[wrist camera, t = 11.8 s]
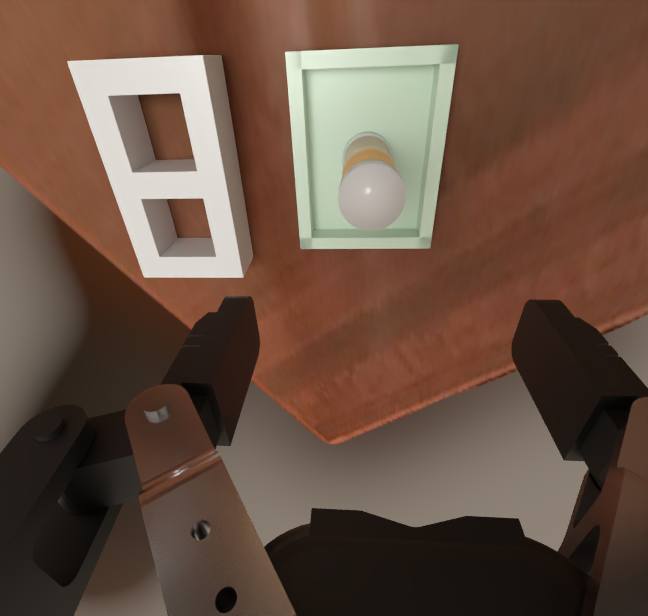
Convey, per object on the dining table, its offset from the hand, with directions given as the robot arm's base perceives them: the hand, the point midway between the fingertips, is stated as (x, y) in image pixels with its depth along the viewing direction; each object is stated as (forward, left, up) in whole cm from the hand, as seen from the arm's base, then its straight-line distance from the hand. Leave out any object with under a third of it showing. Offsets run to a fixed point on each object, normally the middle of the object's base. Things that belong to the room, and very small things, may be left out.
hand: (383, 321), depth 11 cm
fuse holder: (+1, -15, -22) cm, 27 cm away
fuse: (0, 0, -22) cm, 22 cm away
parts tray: (0, 0, -22) cm, 22 cm away
